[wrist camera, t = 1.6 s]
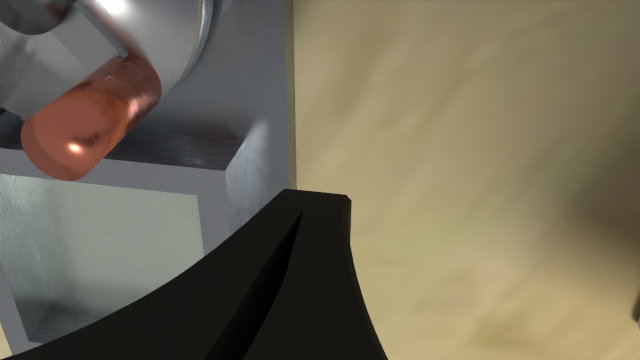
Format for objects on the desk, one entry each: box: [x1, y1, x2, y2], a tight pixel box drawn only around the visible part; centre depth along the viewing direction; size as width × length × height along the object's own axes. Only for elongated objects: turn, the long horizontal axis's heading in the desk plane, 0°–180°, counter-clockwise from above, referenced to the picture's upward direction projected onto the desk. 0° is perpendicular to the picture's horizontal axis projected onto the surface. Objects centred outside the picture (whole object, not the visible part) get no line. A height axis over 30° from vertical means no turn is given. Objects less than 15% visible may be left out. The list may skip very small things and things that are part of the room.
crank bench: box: [0, 0, 297, 355], centre depth 20 cm, size 13×22×4 cm, turn 0°
